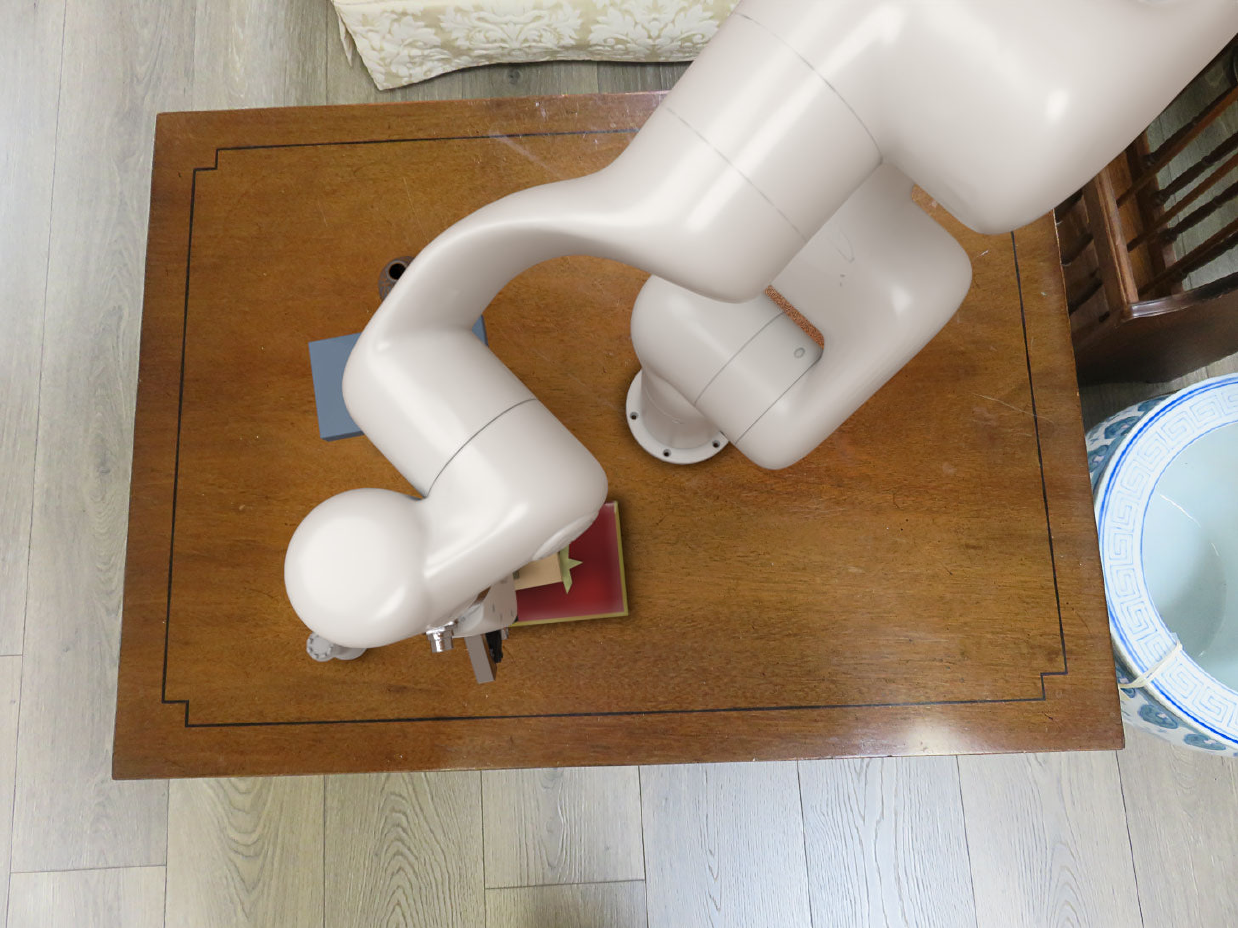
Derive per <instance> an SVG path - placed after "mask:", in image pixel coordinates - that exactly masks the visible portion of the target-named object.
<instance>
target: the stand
mask: <svg viewBox="0 0 1238 928" xmlns="http://www.w3.org/2000/svg"><path fill="white" fill-rule="evenodd" d="M486 327H487V326H486V321H485V317H484V314H483V313H482V314H481V316H480V317H479V318H478V320H477V321H476V323H475V324H474V326H473V328H472V330H471V331H472V332H473V333H474V334H475V335H476V336H477V337H478V338H479V339H480V340H481V341H482V342H483V343H484V344H485V345H486V346H487V347H488V348H489V349H490V345H489V340H488V333H487V328H486ZM362 332H363V331H361V332H356V333H352V334H351V333H350V334H346V335H341V336H334V337H330V338H324V339H319V340H314V341H308V342H307V344H308V352H309V359H310V367H311V374H312V375H311V376H312V382H313V383H312V384H313V390H314V391H313V392H314V398H315V407H316V415H317V422H318V429H319V437H320V439H321V440H323V441H326V442H328V443H330V442H334V441H340V440H346V439H352V438H356V437H361V436H366V435H365V434H364V433H363V431H362V430H361V429H360V428H359V427H358V426H357V424H356V423H355V422H354V420H353V419H352V417H351V416H350V414H349V412H348V410H347V408H346V405H345V401H344V398H343V393H342V379H343V375H344V370H345V366H346V363H347V360H348V358H349V356H350V354H351V351H352V350H353V348H354V346H355V344H356V343H357V341H358V339H359V337H360V335H361V334H362Z"/></svg>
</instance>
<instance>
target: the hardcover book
mask: <svg viewBox="0 0 1238 928" xmlns="http://www.w3.org/2000/svg"><path fill="white" fill-rule="evenodd" d="M621 532H622V531H621V521H620V509H619V501H618V500H609V501H605V502H604V504H603V505H602V507H601V508H600V510H599V513H598V516H597V517H596V519H595V521H593V523H592V524H591V525H590V527H589V528H588V529H587V530H586V531H584V532H583V533H582V534H581V535H580V536H579V537H577V538H576V539H575V540H574V541H572V542H571V543H570V544H569V545H568V546H566V547H565V548H563V549H562V550H560V551H559V552H558V553H559V559H560V565H561V571H562V576H563V581H562V582H557V583H551V584H546V585H541V586H535V587H530V588H525V589H520V590H515V593H516V601H517V615H518V620H519V621H517V622H515V623H513V624H511V625H510V626H508V628H512V627H522V626H533V625H543V624H552V623H553V624H554V623H562V622H573V621H583V620H585V621H586V620H594V619H604V618H615V617H625V616H626V617H627V616H629V604H628V595H627V585H626V584H627V583H626V573H625V561H624V551H623V542H622V541H623V540H622V533H621Z"/></svg>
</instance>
